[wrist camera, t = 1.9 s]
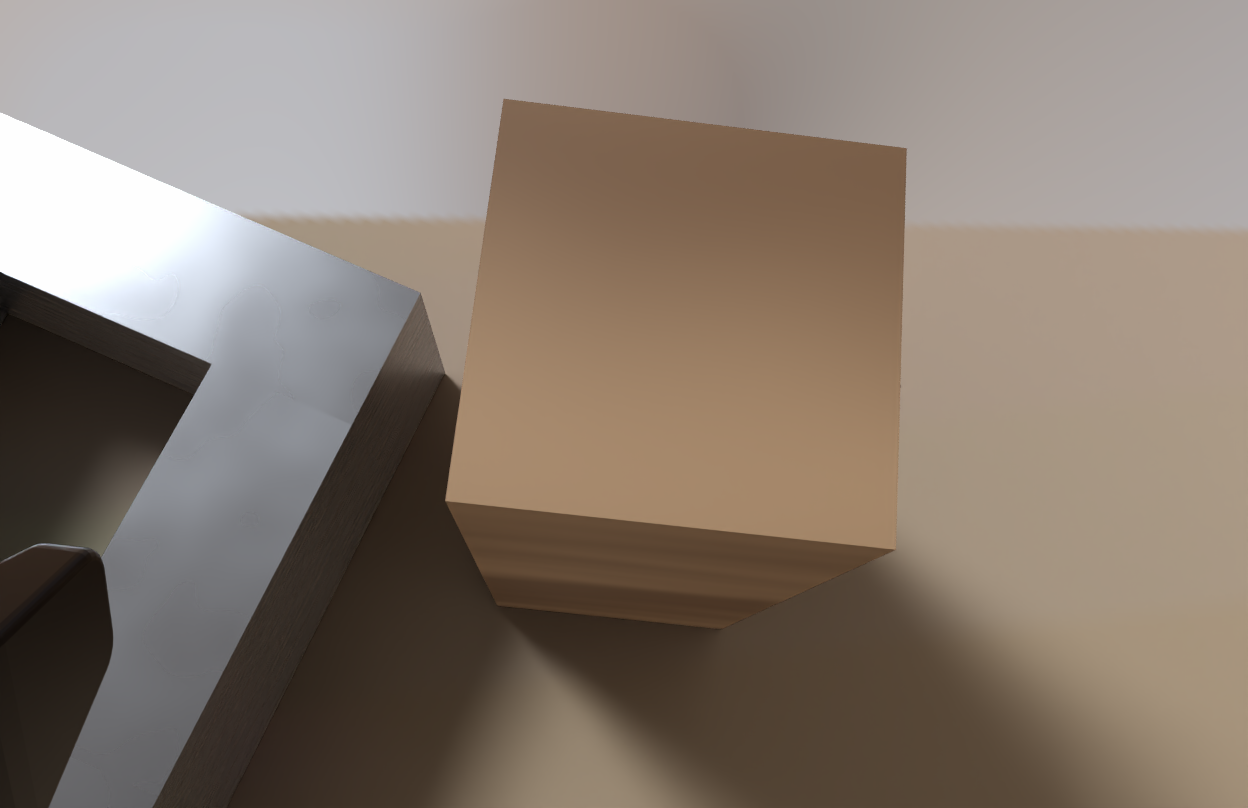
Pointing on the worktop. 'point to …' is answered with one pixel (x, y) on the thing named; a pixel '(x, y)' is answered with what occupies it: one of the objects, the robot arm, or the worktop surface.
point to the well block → (212, 450)
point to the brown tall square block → (679, 366)
